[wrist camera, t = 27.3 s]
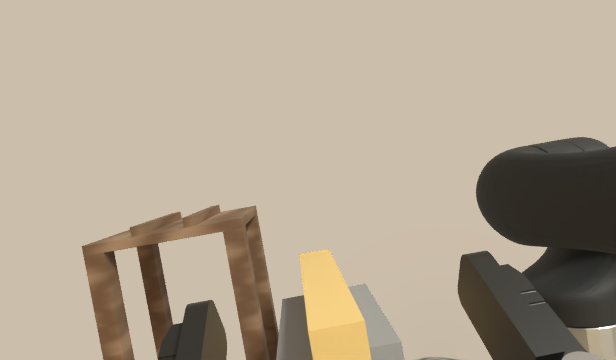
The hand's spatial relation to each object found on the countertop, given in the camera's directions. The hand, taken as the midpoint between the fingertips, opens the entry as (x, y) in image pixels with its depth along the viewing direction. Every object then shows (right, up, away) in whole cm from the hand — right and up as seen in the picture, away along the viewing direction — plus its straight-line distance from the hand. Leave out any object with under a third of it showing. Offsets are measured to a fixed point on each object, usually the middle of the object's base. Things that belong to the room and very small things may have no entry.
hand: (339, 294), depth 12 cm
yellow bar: (+1, -8, +22) cm, 23 cm away
